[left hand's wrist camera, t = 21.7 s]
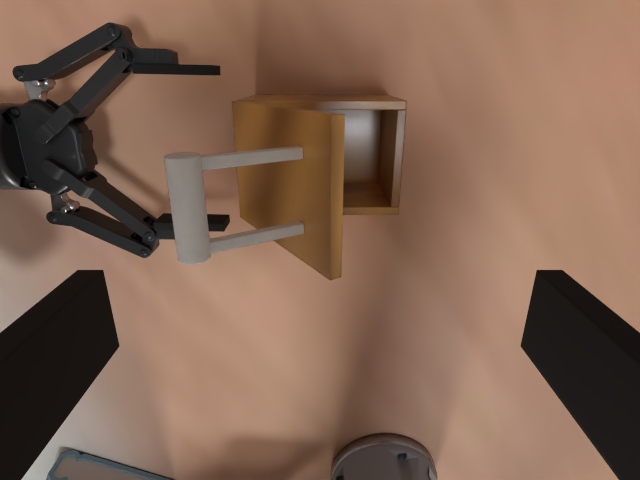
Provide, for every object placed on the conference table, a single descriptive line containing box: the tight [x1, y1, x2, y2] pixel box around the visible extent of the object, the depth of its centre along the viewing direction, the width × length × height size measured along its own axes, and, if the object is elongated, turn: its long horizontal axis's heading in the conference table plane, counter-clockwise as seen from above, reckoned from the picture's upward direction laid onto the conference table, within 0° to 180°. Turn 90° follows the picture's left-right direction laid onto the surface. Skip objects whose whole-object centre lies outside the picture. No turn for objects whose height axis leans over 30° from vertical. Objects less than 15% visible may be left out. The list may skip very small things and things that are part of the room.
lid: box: [164, 101, 345, 280], centre depth 27 cm, size 14×10×9 cm
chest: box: [239, 95, 407, 215], centre depth 40 cm, size 14×10×9 cm
